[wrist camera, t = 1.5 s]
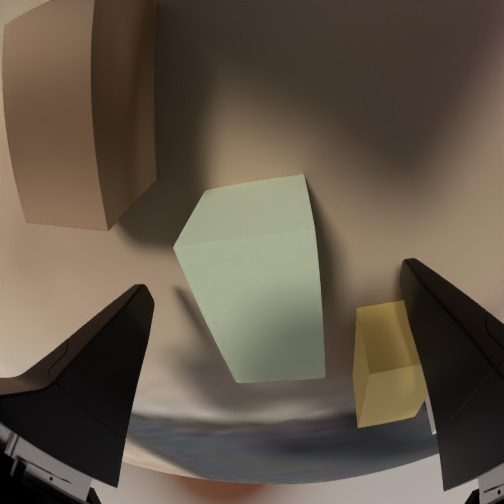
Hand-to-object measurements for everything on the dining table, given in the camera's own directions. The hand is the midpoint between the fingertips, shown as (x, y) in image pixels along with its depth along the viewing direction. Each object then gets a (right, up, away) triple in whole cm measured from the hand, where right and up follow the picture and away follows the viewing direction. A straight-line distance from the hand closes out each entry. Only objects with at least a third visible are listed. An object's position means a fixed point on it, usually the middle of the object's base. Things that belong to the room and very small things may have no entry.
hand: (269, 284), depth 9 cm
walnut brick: (-5, +6, -2) cm, 8 cm away
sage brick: (0, +1, +1) cm, 2 cm away
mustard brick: (+6, -3, +4) cm, 8 cm away
